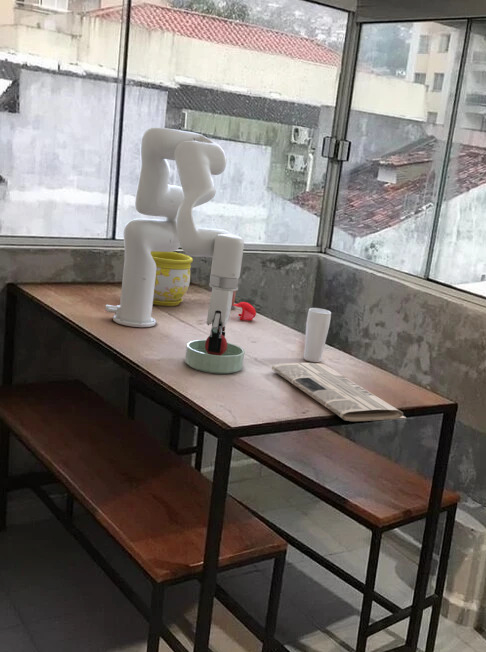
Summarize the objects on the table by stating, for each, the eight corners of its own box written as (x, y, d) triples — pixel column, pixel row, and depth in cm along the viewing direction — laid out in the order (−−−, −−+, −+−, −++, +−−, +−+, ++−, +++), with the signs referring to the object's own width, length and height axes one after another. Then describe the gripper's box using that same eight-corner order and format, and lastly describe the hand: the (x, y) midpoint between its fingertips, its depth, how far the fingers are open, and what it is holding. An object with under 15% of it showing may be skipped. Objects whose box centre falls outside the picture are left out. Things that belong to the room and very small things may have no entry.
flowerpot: (122, 297, 276) (127, 250, 273) (160, 293, 292) (165, 248, 288) (161, 310, 268) (167, 261, 264) (198, 305, 283) (203, 259, 279)
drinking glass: (306, 363, 233) (314, 313, 230) (297, 356, 239) (304, 307, 235) (327, 363, 236) (335, 314, 233) (317, 356, 242) (325, 308, 238)
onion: (220, 363, 212) (224, 334, 210) (200, 358, 213) (203, 329, 211) (228, 358, 218) (232, 329, 216) (208, 354, 219) (211, 325, 217)
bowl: (179, 369, 208) (182, 350, 207) (190, 354, 223) (192, 336, 222) (238, 378, 209) (241, 359, 208) (245, 362, 224) (247, 345, 223)
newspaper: (271, 372, 218) (272, 362, 218) (332, 371, 229) (333, 362, 228) (341, 422, 189) (343, 410, 188) (407, 418, 199) (409, 408, 198)
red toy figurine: (249, 317, 279) (252, 300, 277) (257, 321, 274) (260, 304, 273) (228, 316, 274) (231, 299, 273) (236, 321, 269) (239, 304, 268)
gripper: (214, 274, 219) (206, 338, 223) (204, 285, 202) (196, 354, 206) (242, 279, 219) (233, 343, 223) (234, 290, 202) (225, 359, 207)
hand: (215, 348), depth 215 cm, fingers closed on onion, 6 cm apart
